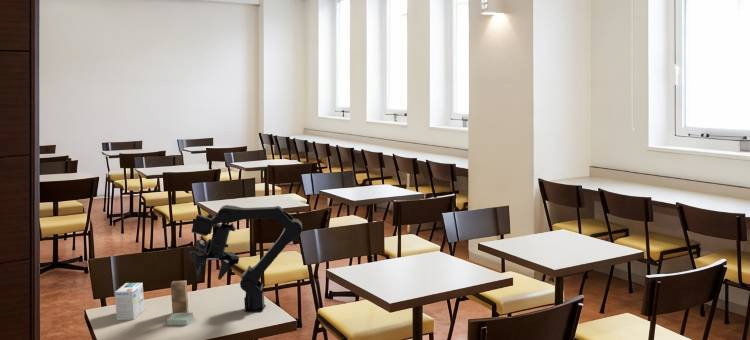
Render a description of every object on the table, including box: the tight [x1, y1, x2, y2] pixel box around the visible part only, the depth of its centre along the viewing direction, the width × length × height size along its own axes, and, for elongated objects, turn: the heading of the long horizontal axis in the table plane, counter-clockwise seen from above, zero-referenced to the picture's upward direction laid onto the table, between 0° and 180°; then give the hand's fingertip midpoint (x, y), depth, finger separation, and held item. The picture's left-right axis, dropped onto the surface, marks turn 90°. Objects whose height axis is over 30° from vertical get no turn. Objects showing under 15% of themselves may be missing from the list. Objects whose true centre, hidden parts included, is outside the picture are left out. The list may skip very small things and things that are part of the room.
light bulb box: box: [114, 282, 145, 321], centre depth 253 cm, size 11×7×11 cm, turn 178°
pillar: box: [170, 279, 190, 314], centre depth 252 cm, size 5×5×12 cm
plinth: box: [166, 312, 194, 326], centre depth 245 cm, size 7×7×2 cm
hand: (208, 279), depth 253 cm, fingers open, 9 cm apart
